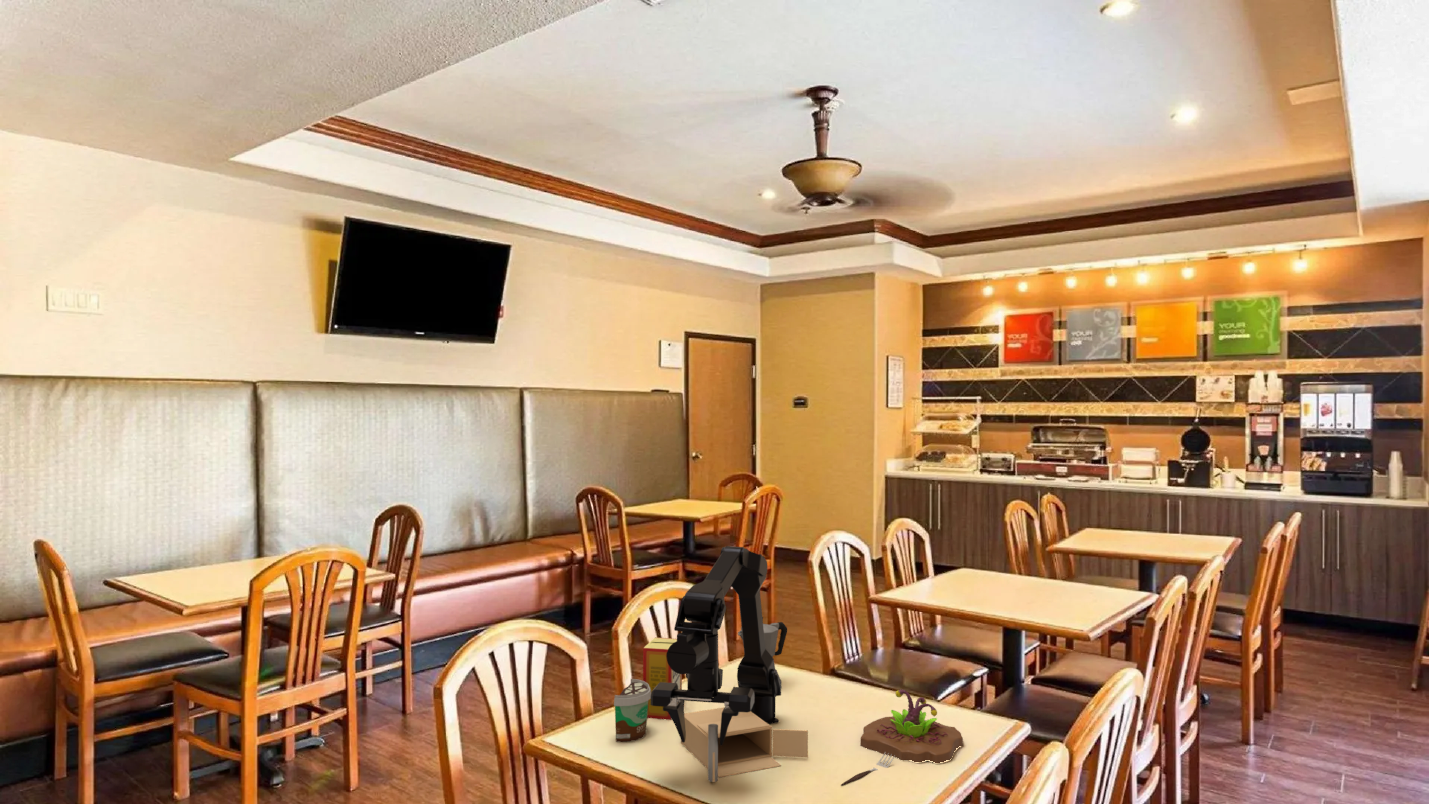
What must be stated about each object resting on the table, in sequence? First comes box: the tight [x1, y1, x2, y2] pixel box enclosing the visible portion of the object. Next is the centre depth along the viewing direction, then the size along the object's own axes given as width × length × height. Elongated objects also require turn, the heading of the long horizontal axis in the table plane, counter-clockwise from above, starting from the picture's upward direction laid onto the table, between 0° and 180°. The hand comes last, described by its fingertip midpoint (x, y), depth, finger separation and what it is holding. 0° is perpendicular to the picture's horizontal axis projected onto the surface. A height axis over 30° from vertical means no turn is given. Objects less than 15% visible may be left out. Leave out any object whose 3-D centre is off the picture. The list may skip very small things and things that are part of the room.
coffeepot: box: [737, 616, 788, 658], centre depth 211 cm, size 15×9×18 cm, turn 125°
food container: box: [613, 678, 651, 743], centre depth 180 cm, size 12×6×10 cm, turn 168°
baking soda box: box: [642, 636, 683, 721], centre depth 194 cm, size 10×6×16 cm
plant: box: [859, 689, 964, 763], centre depth 176 cm, size 20×20×11 cm
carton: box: [680, 706, 809, 779], centre depth 171 cm, size 20×19×6 cm
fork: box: [840, 752, 896, 787], centre depth 161 cm, size 3×16×2 cm, turn 134°
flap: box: [707, 724, 719, 783], centre depth 159 cm, size 7×2×10 cm, turn 8°
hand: (702, 743), depth 156 cm, fingers open, 7 cm apart
